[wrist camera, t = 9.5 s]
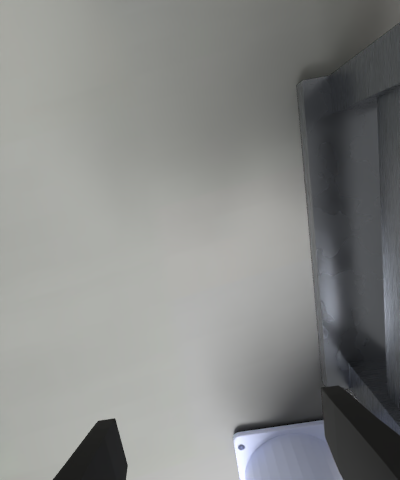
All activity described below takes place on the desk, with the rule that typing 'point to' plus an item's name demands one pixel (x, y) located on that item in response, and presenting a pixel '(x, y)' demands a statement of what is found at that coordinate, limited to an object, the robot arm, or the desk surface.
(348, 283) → the rail stand
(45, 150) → the desk surface
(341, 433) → the robot arm
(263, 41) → the desk surface
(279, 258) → the desk surface
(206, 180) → the desk surface
